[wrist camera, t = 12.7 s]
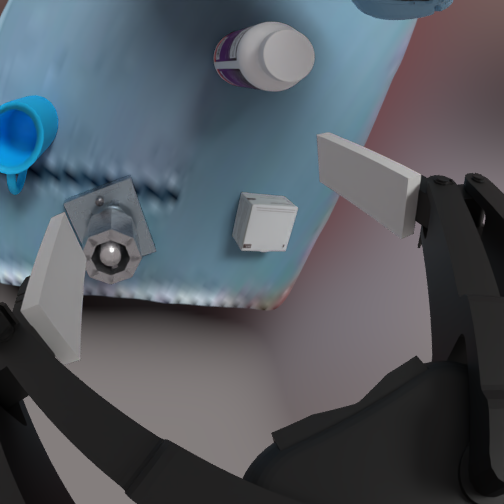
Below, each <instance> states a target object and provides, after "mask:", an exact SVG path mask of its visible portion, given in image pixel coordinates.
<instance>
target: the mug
mask: <svg viewBox="0 0 504 504" xmlns="http://www.w3.org/2000/svg"><path fill="white" fill-rule="evenodd" d="M57 130H58V116H57V112H56V109H55V108H54V106H53V105H52V103H51V102H50V101H48V100H47V99H45V98H44V97H40V96H36V95H35V96H27V97H23V98H20V99H17V100H13V101H10V102H7V103H5V104H3V105H1V106H0V172H1V173H4V174H7V185H8V188H9V191H10V192H11V193H12V194H14V195H17V194H18V193H20V192H21V190H22V188H23V186H24V183H25V179H26V175H27V170H28V168H29V167H30V166H31V165H32V164H33V163H34V162H35V161H36V160H37V159H38V158H39V157H40V156H41V155H42V153H43V152H44V151H45V150H46V149H47V148H48V147H49V146H50V145H51V143H52V142H53V140H54V138H55V136H56V133H57ZM18 173H19V174H18ZM16 174H18V178H17V181H16Z"/></svg>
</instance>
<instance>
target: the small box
mask: <svg viewBox="0 0 504 504" xmlns="http://www.w3.org/2000/svg"><path fill="white" fill-rule="evenodd" d="M297 210H298V207H296V206H295V205H294V204H293V203H292V202H291V201H289V200H288V199H287V198H286V197H285V196H277V195H266V194H255V193H246V192H241V195H240V200H239V205H238V209H237V214H236V219H235V223H234V228H233V233H232V236H233V238H234V239H235V241H236V243H237V244H238V246H239V248H240V249H241V250H242V251H260V252H268V251H286V248H287V245H288V242H289V238H290V234H291V231H292V227H293V224H294V221H295V217H296V214H297Z"/></svg>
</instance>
